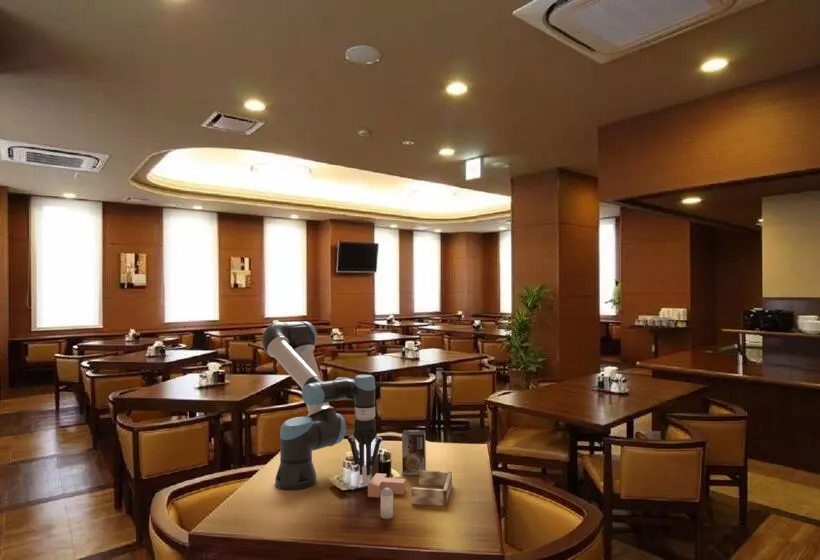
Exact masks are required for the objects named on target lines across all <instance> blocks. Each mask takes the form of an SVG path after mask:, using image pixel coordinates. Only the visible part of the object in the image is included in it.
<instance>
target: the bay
mask: <svg viewBox="0 0 820 560" xmlns="http://www.w3.org/2000/svg"><path fill="white" fill-rule="evenodd" d="M418 477H419V478H418V479H419V480H418V483H419V485H422V486H433V487H434V486H435V487H443V489H441V488H430V487H429V488H426V487H414V486H413V487H411V489H410V494H411V495H410V496H411V497H410V500H411V501H410V502H411V503H410V504H413V505H414V504H415V505H425V506H426V505H427V506H439V507H447V506H448V503H449V499H450V494H451V490H452V487H453V479H452V478H453V473H452V471H446V470H445V471H442V470H441V471H440V470H439V471H438V470H430V469H429V470H427V469H426V470H420V471H419V475H418Z"/></svg>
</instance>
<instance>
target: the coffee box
mask: <svg viewBox="0 0 820 560" xmlns="http://www.w3.org/2000/svg"><path fill="white" fill-rule="evenodd" d="M401 446H402V447H401V448H402V449H401V450H402V451H401V453H402V457H401V458H402V459H401V460H402V462H401V463H402V464H401V465H402V466H401V467H402V471H401V472H402V474H401V475H402V476H419V471H420V470H427V466H426V465H427V463H426V461H427V460H426V457H427V455H426V450H427V449H426V430H424V429H403V431H402V433H401Z"/></svg>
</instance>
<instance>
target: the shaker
mask: <svg viewBox="0 0 820 560" xmlns="http://www.w3.org/2000/svg"><path fill="white" fill-rule="evenodd" d="M393 517H394V494H393V492H392V490H391V489H390V488H384V489H383V490H382V491H381V495H380V518H381V519H384V520H391V519H392V518H393Z"/></svg>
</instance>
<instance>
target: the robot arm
mask: <svg viewBox="0 0 820 560" xmlns="http://www.w3.org/2000/svg"><path fill="white" fill-rule="evenodd" d="M317 338H318V334H317V331H316V328H315V326H314V325H313V324H312V323H311V322H309V321H306V320H305V321H304V320H303V321H302V320H297V321H296V320H295V321H277V322H274V323H271V324H269V325H268V326H267V327H266V328H265V330H264V331H263V333H262V336H261V345H262V348H263V349H264V351H265V352H266V353H267V355H268V356H269V357H270V358H274V359H275V360H276V361H277V362H278V363H279V365H280V366H282V367H283V369H284V370H285V371H286V373H288V375H289V376H290V378H292V379H293V380H294V381H295V383H297V384H298V386H299V387H300V388H301V398H302V399H303V402H304V403H305V405H306V408H307V411H308V413H307V415H306V416H303V415H302V416H299V417H298V416H296V417H292V418H289V419H286V420H285V421H284V422H283V423H282V424H281V426H280V433H279V438H280V440H279V441H280V442H279V443H280V452H279V454H280V455H279V457H280V463H279V466H278V468H277V472H276V475H275V479H274V480H275V481H274V483H275V484H276V485H275V484H274V485H275V486H276V488H278V487H280V488H279V489H281V488H283V489H282V490H286V489H288V490H287V491H294V490H296V491H297V490H303V489H307V488H309V487H312V486H314V485H315V484H316V483H317V473H316V469H315V466H314V463H313V452H314V451H317V450H320V449H324V448H327V447H332V446H335V445H337V444H338V445H339V444H340V443H341V442H342V441H343V439H344V438H345V435H346V431H347V425H346V420H345V418H344V416H343V415H342V414H341V413H337V412H336V409H335V407H333V406H331V405H330V402H336V401H341V400H352V401H354V431H353V433H352V435H349V437H348V438H347V442H348V443H349V444H350V449H351V453H352V458H353V462H354V463H353V464H355V465H358V466H359V475H361V476H362V477H361V482H362V483H361V485H362V486H368V484H369V476H370V475H371V474H372V466H374V465H375V463H376V462H377V459H378V455H379V449H380V445H381V442H382V441H383V440H384V439H383V437H382V436H381V437H380V436H379V435H378V433H377V431H376V418H375V417H376V379H375V376H373V375H372V374H357V375H356V376H354V378H349V377H347V376H346V377H345V376H343V377H341V376H339V377H336V378H335V379H333V380H326V381H325V380H323V379H322V378H321V374H320V371H319V367H318V365H317V361H316V359H315V355H314V350H315V348H316V344H317V341H318V339H317ZM356 441H357V443H358V448H357V445H356V444H357V443H356ZM373 442H375V445H374V450H373V454H372V443H373ZM358 449H359V450H358ZM358 452H359V453H358ZM365 461H366V462H365Z"/></svg>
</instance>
